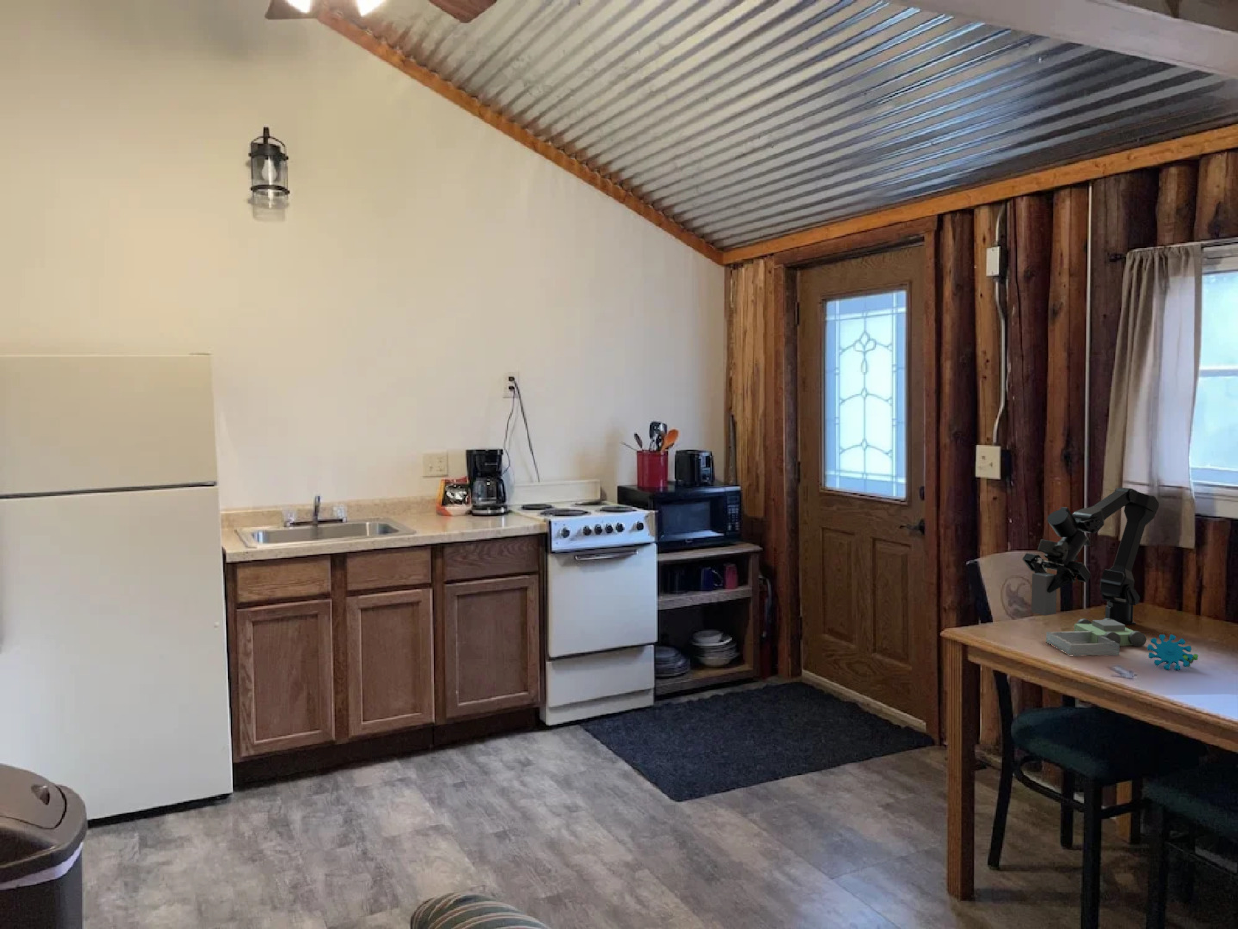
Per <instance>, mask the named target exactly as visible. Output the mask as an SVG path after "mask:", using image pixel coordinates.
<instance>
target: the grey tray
mask: <svg viewBox="0 0 1238 929" xmlns="http://www.w3.org/2000/svg"><path fill="white" fill-rule="evenodd" d="M1092 632H1094V631H1092ZM1045 640H1046V641H1045V643H1046V642H1047V644H1048V643H1049V644H1048V645H1050V644H1052V645H1054V646H1055V647H1057V648H1058V649H1060V650H1063V651H1064V652H1066V653H1067V654H1069V655H1073V656H1072V657H1082V656H1081V655H1109V656H1119V655H1120V646H1121V645H1120V644H1118V643H1116V642H1114V641H1112V640H1110V639H1108V638H1106V637H1104V636H1102V635H1099V636H1098V643H1093V642H1091V631H1074V630H1073V631H1070V630H1069V631H1046V639H1045ZM1055 647H1054V648H1055ZM1057 648H1056V649H1057ZM1058 649H1057V650H1058ZM1060 650H1059V651H1060ZM1064 652H1063V653H1064ZM1067 654H1066V655H1067ZM1069 655H1068V656H1069Z"/></svg>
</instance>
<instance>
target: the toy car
mask: <svg viewBox="0 0 1238 929" xmlns="http://www.w3.org/2000/svg"><path fill="white" fill-rule="evenodd" d="M1104 618H1105V617H1104ZM1104 618H1103V619H1092V620H1089V619H1087V618H1081V619H1079V620H1077V622H1076V623H1074V625H1073V626H1074V629H1073V631H1091V642H1093V643H1098V636H1099V635H1102V636H1104V637H1106V638H1108V639H1110V640H1112V641H1114V642H1116V643H1118V644H1120V646H1134V647H1136V648H1140V647H1143V646H1145V645H1146V643H1147V636H1146V634H1145V633H1143V632H1141V631H1138V630H1133V629H1131V628H1128V627H1126V624H1122V623H1119V622H1117V621H1115V620H1112V619H1110V618H1105V619H1104ZM1092 631H1094V632H1092Z"/></svg>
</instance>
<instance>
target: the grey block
mask: <svg viewBox="0 0 1238 929" xmlns="http://www.w3.org/2000/svg"><path fill="white" fill-rule="evenodd" d="M1055 576H1056V574H1055V573H1049V572H1047V573H1045V572H1040V573H1035V572H1033V573H1032V574H1031V602H1030V603H1031V606H1030V607H1031V610H1030V613H1033V614H1038V615H1041V616H1049V615H1055V614H1057V594H1058V593H1057V590H1058V589H1056V590H1055V591H1053V592H1051V593H1048V591H1047V589H1048V587H1049V585H1050V584H1051V582H1052V580H1053V579H1054V577H1055Z"/></svg>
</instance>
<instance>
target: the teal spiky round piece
mask: <svg viewBox="0 0 1238 929" xmlns="http://www.w3.org/2000/svg"><path fill="white" fill-rule="evenodd" d="M1158 638H1159V640H1160V643H1158V639H1157V638H1156V637H1152V638H1151V639H1150V643H1151V644H1148V645H1147V647H1146V650H1147V651H1151V652H1148V659H1151V660H1152V659H1154V661H1153V663H1154V665H1155V666H1156V667H1159V666H1160V665H1161V664H1162V663H1165V662H1166V663H1165V664H1164V665H1163V669H1164V670H1166V671H1169V670H1170V669H1171V665H1172V664H1175V665H1174V668H1173V669H1174V670H1175V671H1180V670H1182V668H1181V665H1180V663H1179V662H1182V666H1183V667H1184V668H1186V667H1191V664H1193V663H1194V661H1197V660H1198V658H1199V654H1197V653H1193V654H1192V653H1191V651H1192V647H1191V645H1187V646H1184V645H1185V644H1186V640H1185V639H1184V638H1180V639H1179V640H1177V641H1176V638H1177V637H1176V635H1174V634H1172V633H1171V634H1169V639H1168V640H1166V641H1165V639H1166V635H1165V634H1159V635H1158ZM1173 641H1175V642H1173ZM1152 644H1153V645H1154V646H1155V647H1156V648H1154V646H1153V645H1152ZM1185 651H1186V652H1185ZM1153 652H1155V653H1156V654H1154V653H1153ZM1156 658H1157V659H1156Z"/></svg>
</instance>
